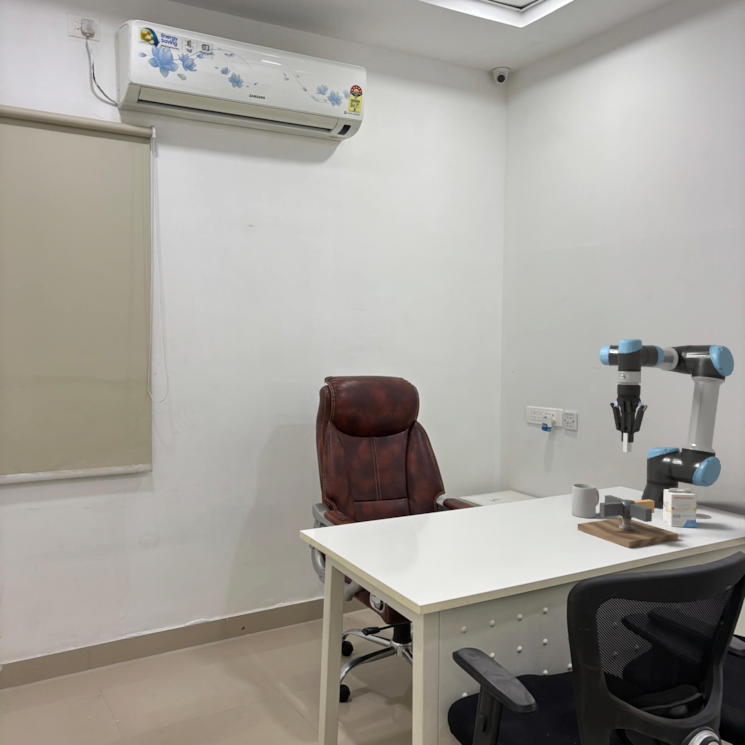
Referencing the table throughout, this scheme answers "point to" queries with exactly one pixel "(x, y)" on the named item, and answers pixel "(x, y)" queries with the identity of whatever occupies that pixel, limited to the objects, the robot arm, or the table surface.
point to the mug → (584, 500)
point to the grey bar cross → (627, 508)
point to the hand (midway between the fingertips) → (627, 451)
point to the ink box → (679, 507)
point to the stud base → (627, 532)
